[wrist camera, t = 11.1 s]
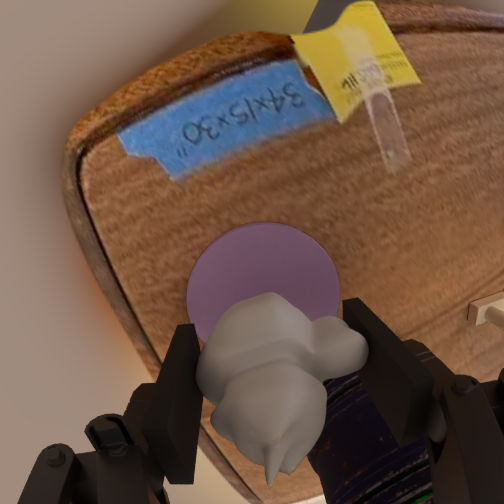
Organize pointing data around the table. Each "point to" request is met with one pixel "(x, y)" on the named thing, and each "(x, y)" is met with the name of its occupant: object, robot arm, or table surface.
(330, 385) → the dark blue barrel
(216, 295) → the purple coaster
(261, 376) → the grey lumpy piece
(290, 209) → the table surface
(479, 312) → the rack
